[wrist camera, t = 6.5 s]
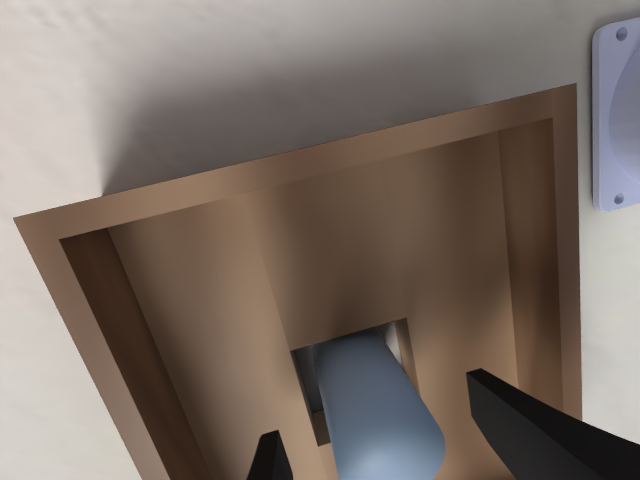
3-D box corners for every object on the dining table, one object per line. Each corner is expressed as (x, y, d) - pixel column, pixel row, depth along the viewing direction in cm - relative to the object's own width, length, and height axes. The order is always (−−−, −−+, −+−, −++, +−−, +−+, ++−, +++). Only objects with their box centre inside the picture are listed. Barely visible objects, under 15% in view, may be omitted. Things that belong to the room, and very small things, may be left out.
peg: (378, 310, 16) (441, 397, 10) (387, 373, 17) (449, 486, 11) (306, 327, 15) (328, 427, 10) (319, 390, 16) (346, 516, 10)
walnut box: (482, 106, 14) (576, 83, 10) (514, 461, 19) (584, 549, 15) (100, 197, 13) (12, 218, 8) (247, 552, 18) (239, 676, 14)
